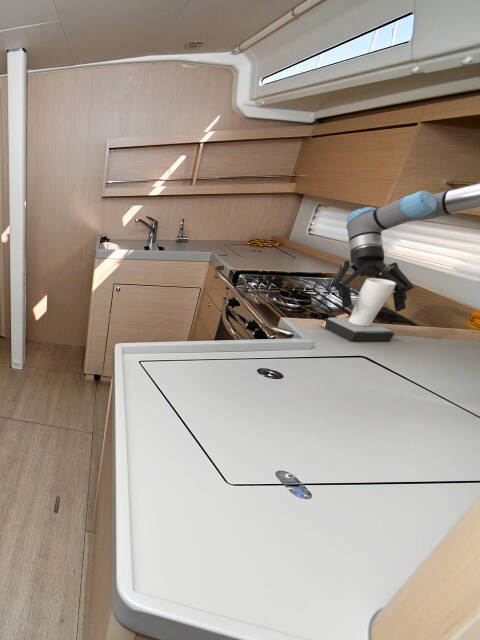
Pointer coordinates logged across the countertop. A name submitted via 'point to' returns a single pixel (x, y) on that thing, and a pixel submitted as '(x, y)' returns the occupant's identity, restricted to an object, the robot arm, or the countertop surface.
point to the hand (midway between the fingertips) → (373, 307)
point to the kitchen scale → (358, 331)
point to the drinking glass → (371, 300)
